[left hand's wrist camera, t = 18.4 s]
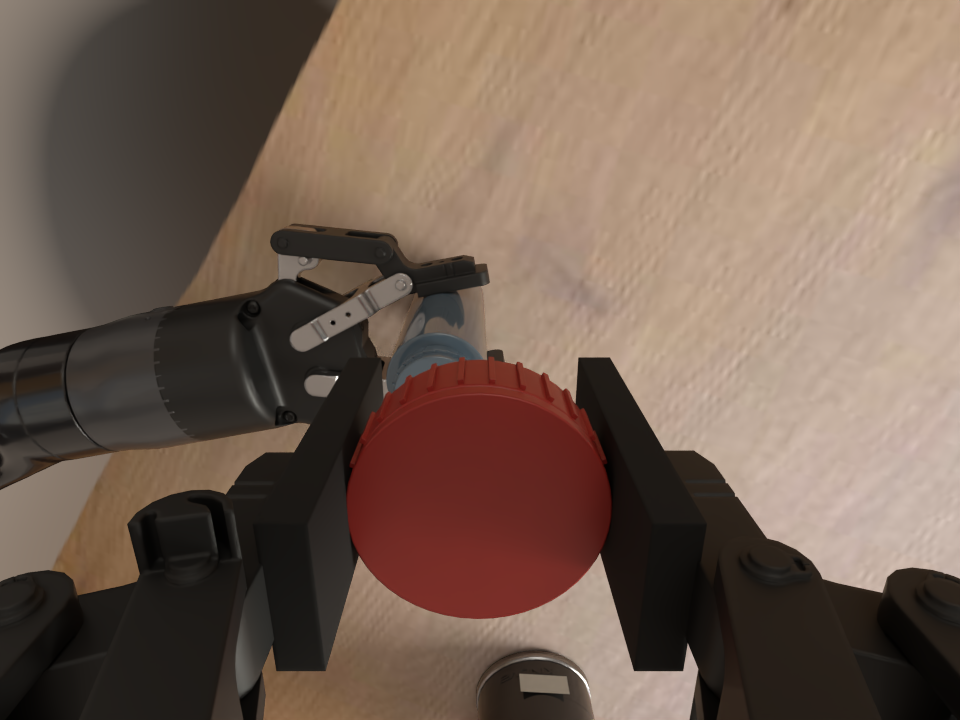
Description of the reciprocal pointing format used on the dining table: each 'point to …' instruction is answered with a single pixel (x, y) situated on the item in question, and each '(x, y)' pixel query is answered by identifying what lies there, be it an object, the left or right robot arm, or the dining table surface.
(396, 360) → the grey bottle
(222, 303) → the right robot arm
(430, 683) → the dining table surface
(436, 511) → the lid
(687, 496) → the left robot arm
